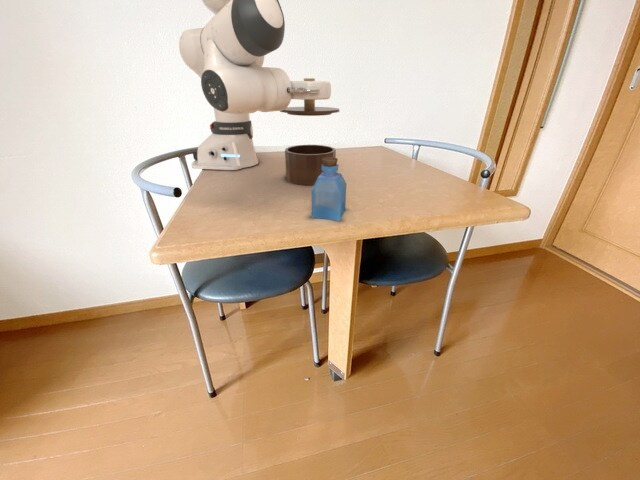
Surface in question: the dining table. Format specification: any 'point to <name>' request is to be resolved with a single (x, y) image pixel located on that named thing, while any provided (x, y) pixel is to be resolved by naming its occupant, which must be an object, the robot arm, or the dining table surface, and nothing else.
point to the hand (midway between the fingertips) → (311, 89)
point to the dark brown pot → (306, 162)
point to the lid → (310, 108)
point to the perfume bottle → (329, 192)
